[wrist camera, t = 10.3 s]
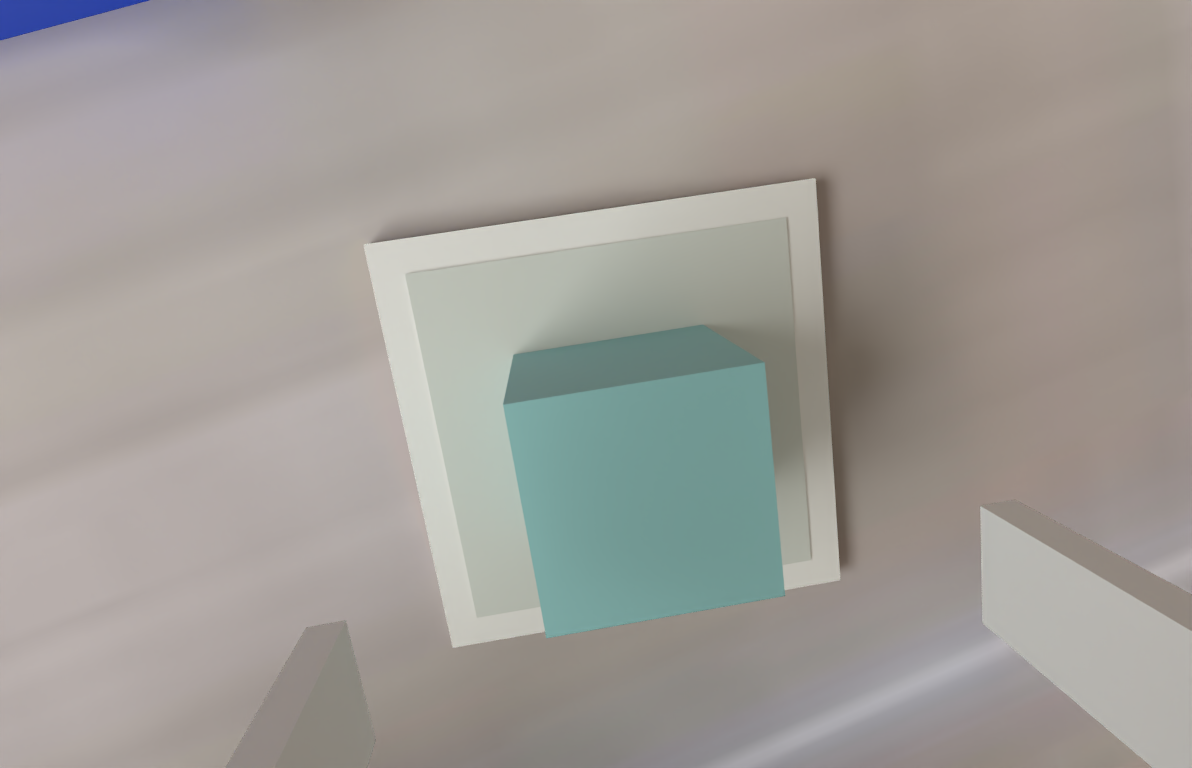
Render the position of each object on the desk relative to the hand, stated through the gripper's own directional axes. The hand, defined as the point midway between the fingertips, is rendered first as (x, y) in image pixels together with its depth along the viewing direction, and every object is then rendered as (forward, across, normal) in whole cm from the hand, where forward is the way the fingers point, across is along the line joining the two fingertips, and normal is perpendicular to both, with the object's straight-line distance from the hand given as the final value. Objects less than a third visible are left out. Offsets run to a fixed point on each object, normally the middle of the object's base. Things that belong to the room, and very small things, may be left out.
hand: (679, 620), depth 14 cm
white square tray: (+13, +1, +1) cm, 13 cm away
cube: (+12, 0, 0) cm, 12 cm away
